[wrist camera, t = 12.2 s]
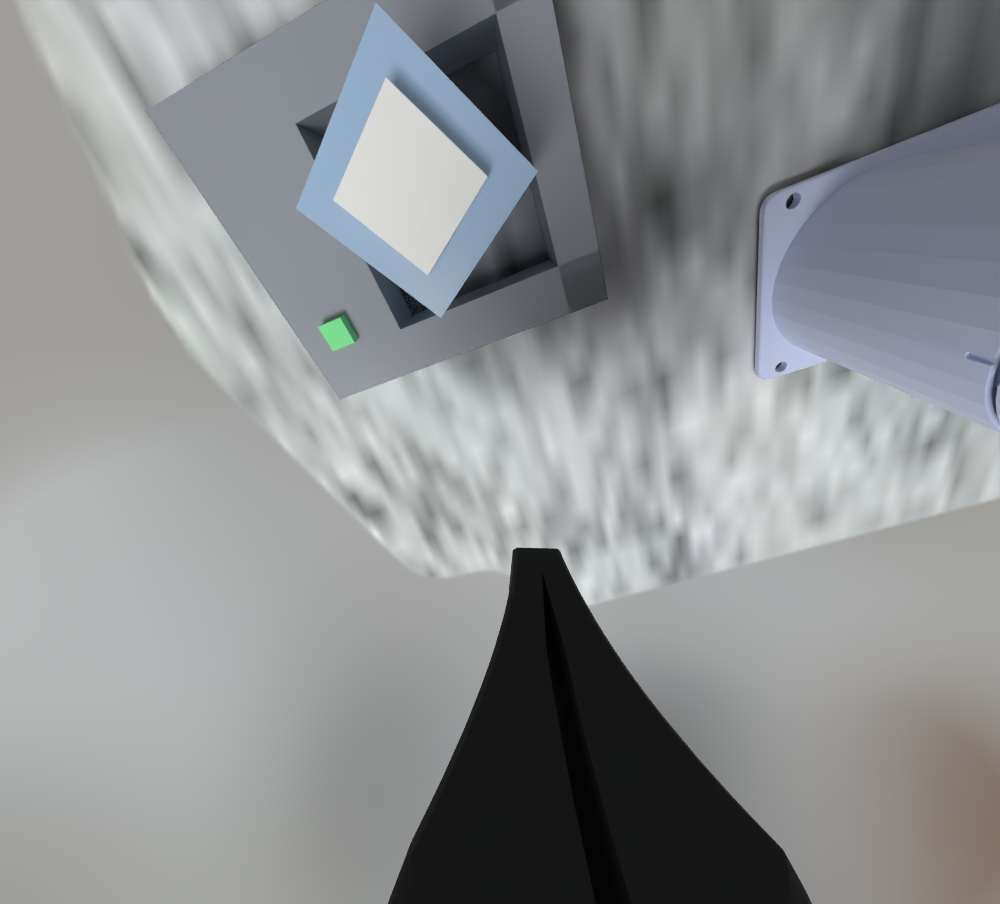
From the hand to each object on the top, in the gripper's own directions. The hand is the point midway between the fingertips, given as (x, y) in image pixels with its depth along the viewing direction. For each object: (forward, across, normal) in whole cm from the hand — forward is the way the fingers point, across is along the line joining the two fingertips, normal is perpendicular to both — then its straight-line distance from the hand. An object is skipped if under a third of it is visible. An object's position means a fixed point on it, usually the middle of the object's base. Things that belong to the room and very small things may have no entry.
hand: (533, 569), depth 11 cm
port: (+10, +5, -9) cm, 14 cm away
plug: (+10, +3, -10) cm, 14 cm away
